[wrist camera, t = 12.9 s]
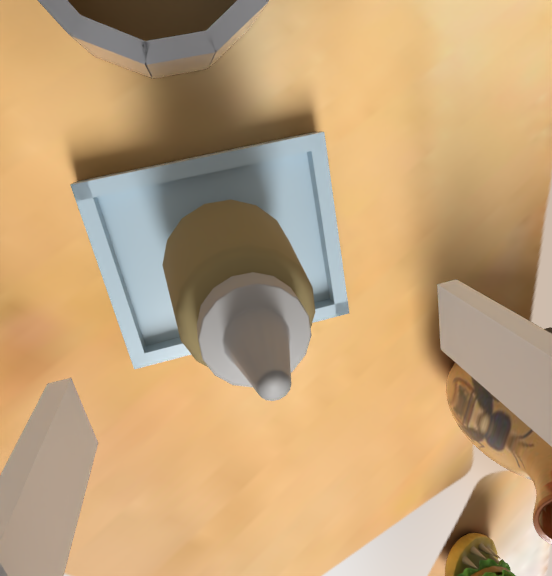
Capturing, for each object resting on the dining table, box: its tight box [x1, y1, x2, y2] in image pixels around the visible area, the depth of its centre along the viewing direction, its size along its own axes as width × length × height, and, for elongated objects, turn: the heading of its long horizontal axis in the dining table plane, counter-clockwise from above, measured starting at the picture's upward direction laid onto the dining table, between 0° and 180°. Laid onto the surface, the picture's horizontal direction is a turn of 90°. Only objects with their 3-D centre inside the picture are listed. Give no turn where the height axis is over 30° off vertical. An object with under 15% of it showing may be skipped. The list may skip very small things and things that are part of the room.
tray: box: [71, 132, 349, 369], centre depth 31 cm, size 16×13×2 cm
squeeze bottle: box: [162, 199, 315, 401], centre depth 23 cm, size 8×8×18 cm
